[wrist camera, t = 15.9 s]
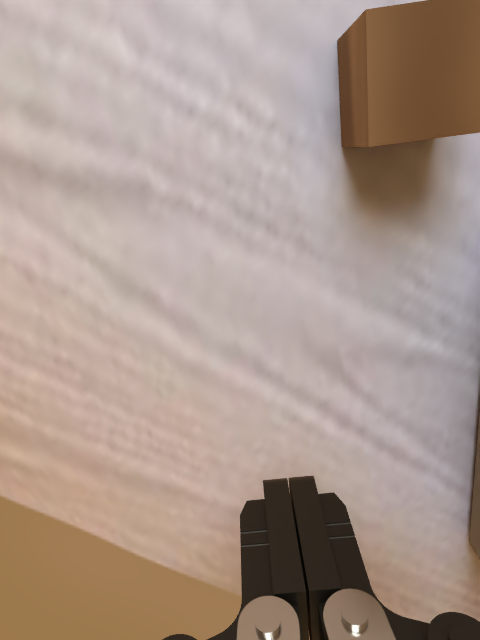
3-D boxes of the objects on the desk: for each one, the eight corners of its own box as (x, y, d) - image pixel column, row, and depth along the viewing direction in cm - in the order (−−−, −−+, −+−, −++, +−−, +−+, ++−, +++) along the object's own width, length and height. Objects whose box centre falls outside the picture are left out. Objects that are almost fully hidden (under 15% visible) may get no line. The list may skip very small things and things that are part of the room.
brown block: (341, 146, 15) (368, 146, 12) (337, 40, 14) (365, 9, 11) (435, 133, 15) (488, 131, 12) (438, 25, 14) (497, -10, 11)
